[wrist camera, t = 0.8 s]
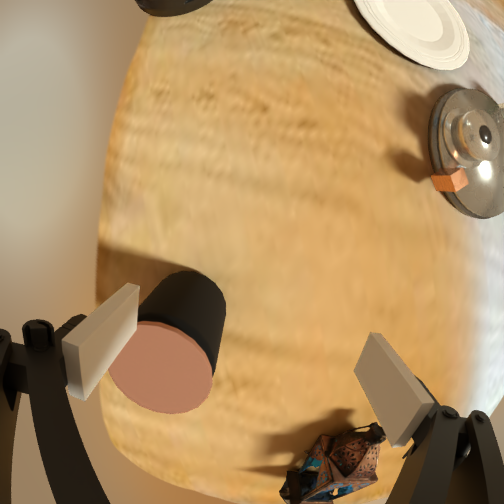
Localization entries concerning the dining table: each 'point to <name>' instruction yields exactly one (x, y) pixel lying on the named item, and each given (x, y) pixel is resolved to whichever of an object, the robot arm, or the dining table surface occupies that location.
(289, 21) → the dining table surface
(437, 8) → the plate
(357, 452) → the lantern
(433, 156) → the turntable base
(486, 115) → the cover
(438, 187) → the turntable
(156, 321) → the coffee jar
